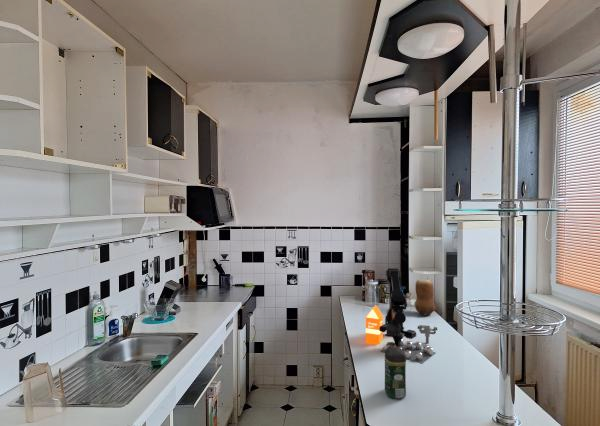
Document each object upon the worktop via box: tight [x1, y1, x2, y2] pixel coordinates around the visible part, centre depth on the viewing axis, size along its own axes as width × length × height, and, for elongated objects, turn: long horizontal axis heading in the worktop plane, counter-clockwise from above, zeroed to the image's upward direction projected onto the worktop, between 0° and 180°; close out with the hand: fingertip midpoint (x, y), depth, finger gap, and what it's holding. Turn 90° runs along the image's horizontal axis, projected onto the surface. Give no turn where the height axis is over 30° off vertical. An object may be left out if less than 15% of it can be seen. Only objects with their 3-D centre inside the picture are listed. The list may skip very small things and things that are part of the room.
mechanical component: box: [417, 324, 438, 345], centre depth 210 cm, size 3×10×10 cm, turn 78°
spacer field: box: [383, 337, 434, 361], centre depth 197 cm, size 22×18×4 cm
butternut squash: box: [414, 279, 436, 317], centre depth 264 cm, size 14×13×25 cm
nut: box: [386, 341, 396, 347], centre depth 203 cm, size 4×5×3 cm
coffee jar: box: [384, 347, 407, 400], centre depth 156 cm, size 10×8×19 cm
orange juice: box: [365, 305, 384, 346], centre depth 214 cm, size 8×9×20 cm
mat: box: [379, 343, 437, 365], centre depth 198 cm, size 23×18×1 cm
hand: (397, 347), depth 201 cm, fingers closed
